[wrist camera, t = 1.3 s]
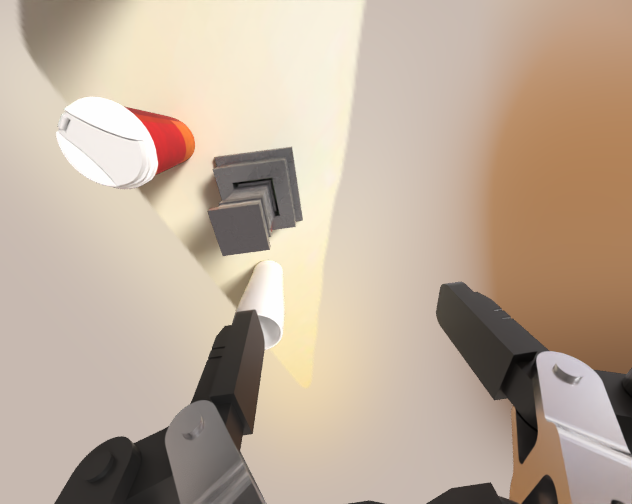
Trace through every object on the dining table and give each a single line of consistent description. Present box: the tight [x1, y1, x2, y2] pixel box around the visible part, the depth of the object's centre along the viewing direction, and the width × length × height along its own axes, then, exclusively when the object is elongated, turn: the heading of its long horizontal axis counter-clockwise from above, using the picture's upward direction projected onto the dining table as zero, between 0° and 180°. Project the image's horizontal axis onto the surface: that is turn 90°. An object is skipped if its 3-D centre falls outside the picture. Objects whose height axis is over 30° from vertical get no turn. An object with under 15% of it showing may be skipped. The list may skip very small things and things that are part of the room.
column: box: [208, 178, 278, 256], centre depth 29 cm, size 5×5×16 cm
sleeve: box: [213, 147, 303, 232], centre depth 34 cm, size 11×11×7 cm
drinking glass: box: [232, 260, 285, 350], centre depth 37 cm, size 7×7×15 cm
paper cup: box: [56, 97, 195, 189], centre depth 27 cm, size 8×8×14 cm
